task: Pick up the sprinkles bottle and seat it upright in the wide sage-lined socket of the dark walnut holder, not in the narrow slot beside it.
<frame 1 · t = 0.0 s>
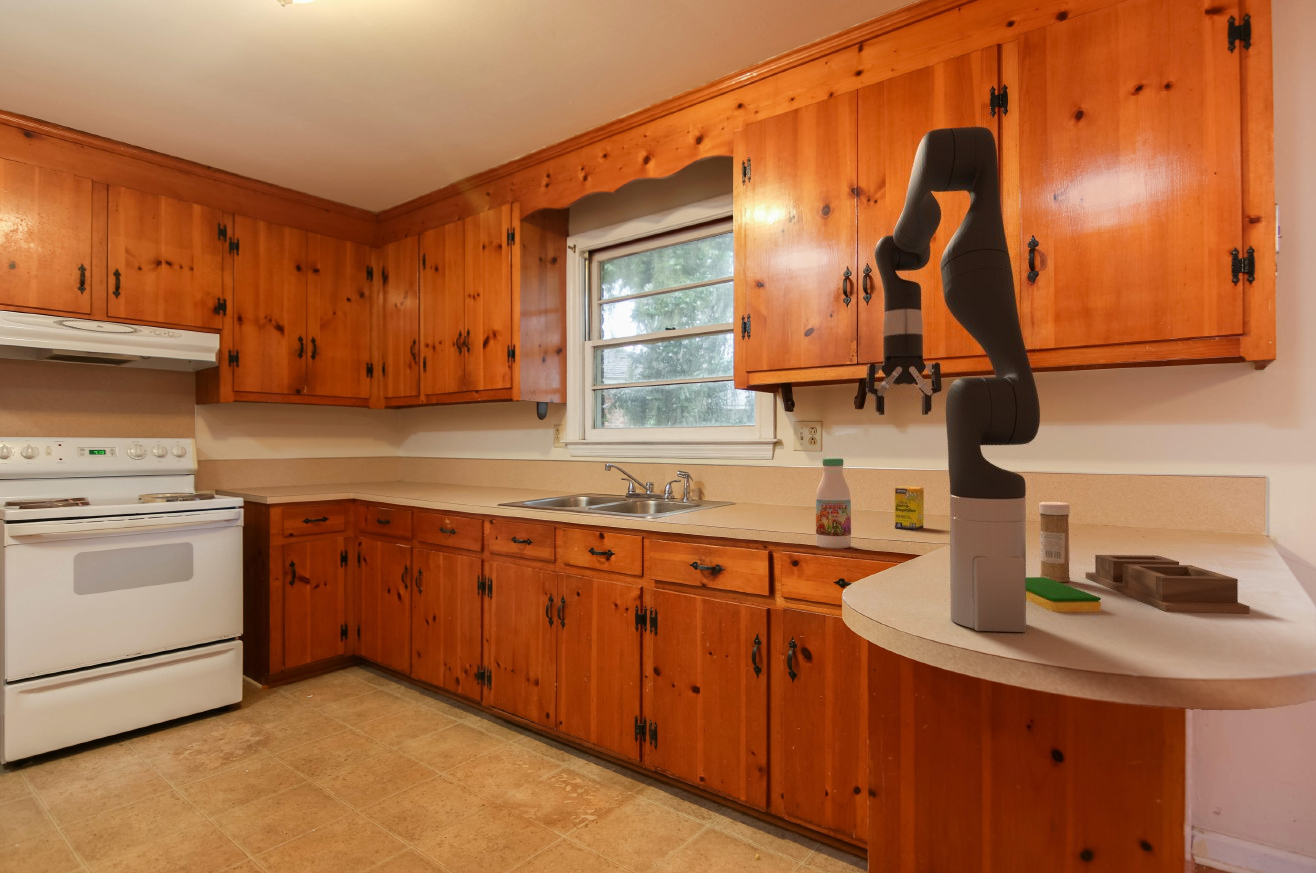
hand: (903, 414, 135), 29 cm above the table, fingers open, 8 cm apart
milk bottle: (833, 547, 152), on the table
socket holder: (1158, 593, 106), on the table
dish sponge: (1049, 603, 103), on the table
supplement box: (909, 528, 179), on the table
sprinkles bottle: (1054, 581, 116), on the table
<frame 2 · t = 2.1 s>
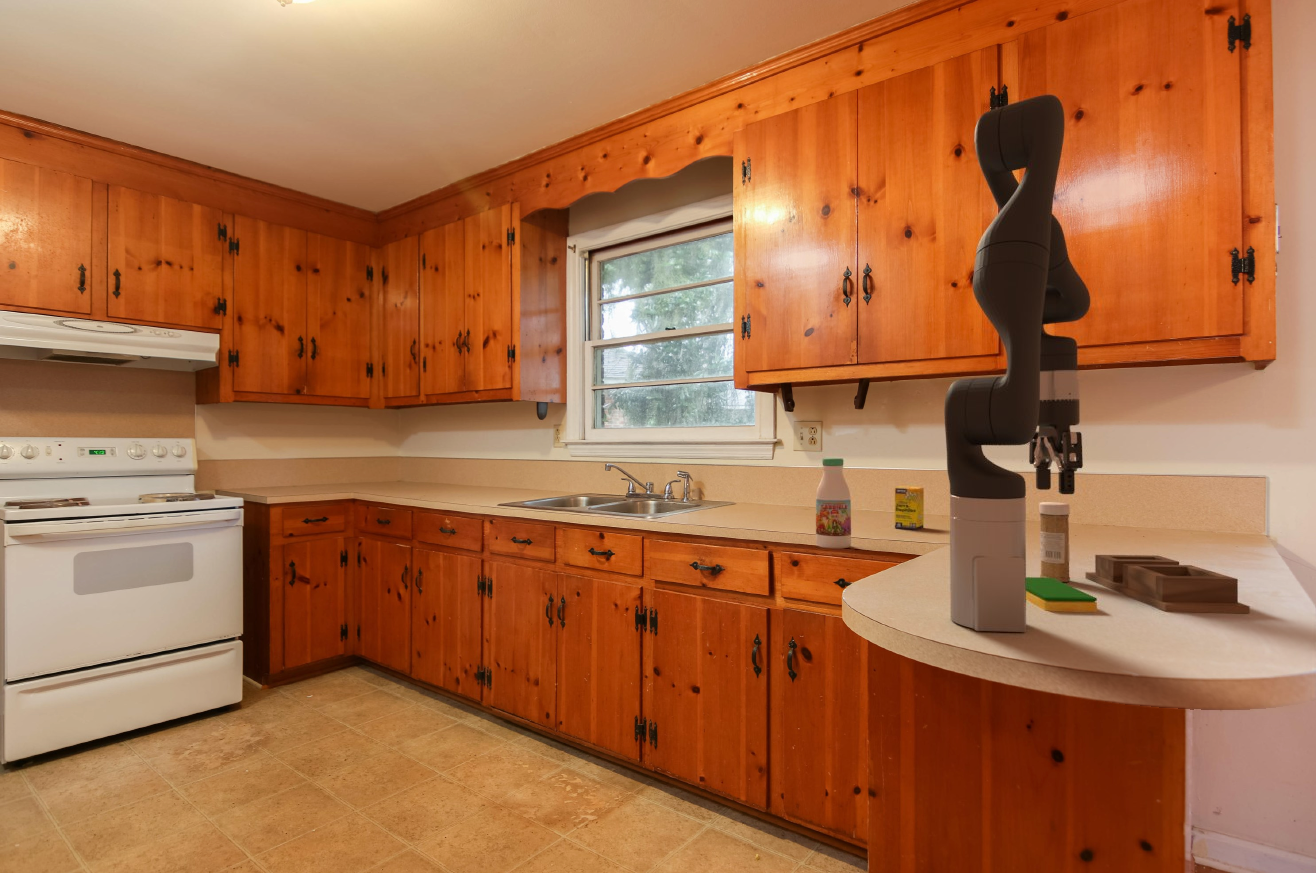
hand: (1054, 491, 116), 15 cm above the table, fingers open, 8 cm apart
nothing on the table moved.
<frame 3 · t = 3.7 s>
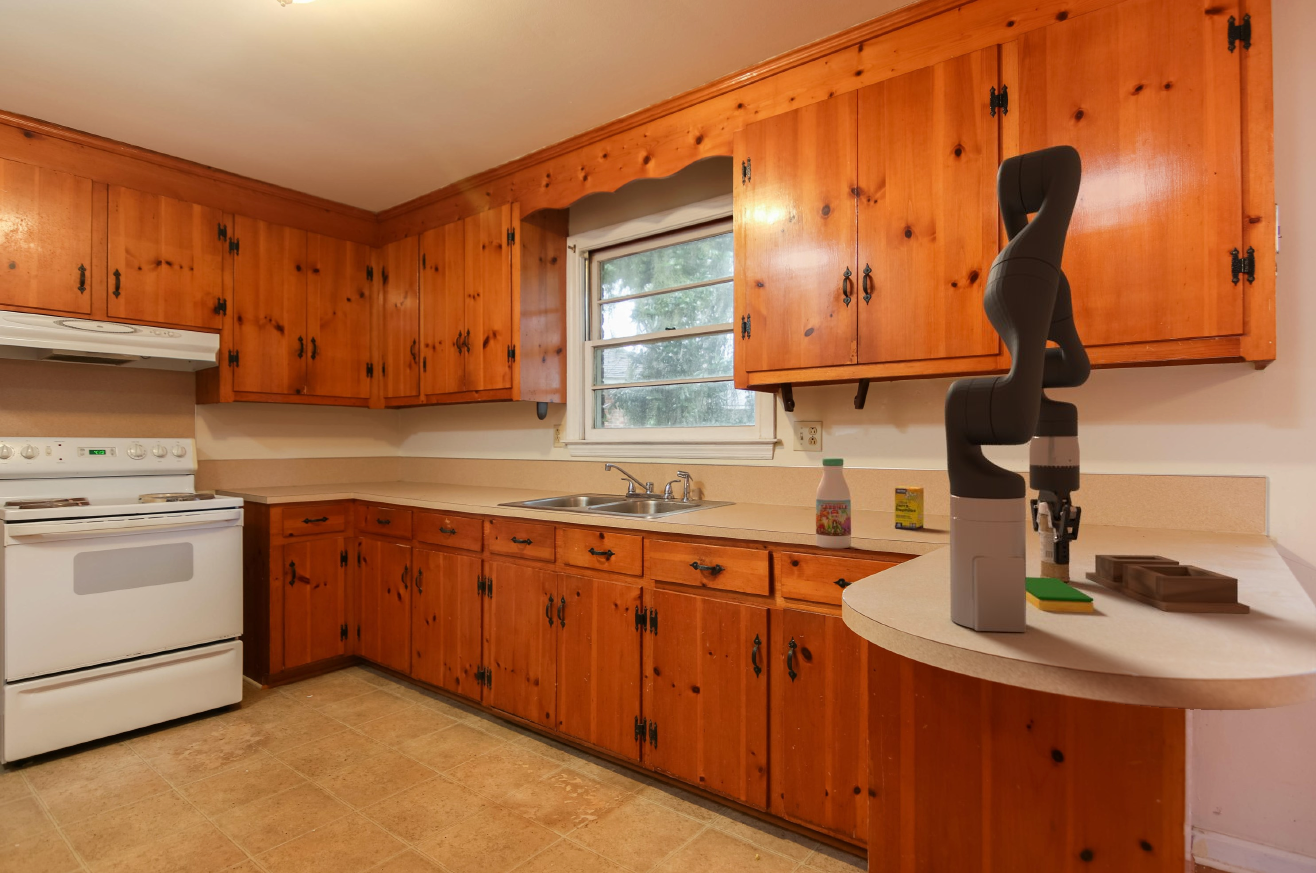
hand: (1054, 560, 116), 3 cm above the table, fingers closed on sprinkles bottle, 4 cm apart
sprinkles bottle: (1054, 581, 116), on the table, touching gripper
everything else where it was.
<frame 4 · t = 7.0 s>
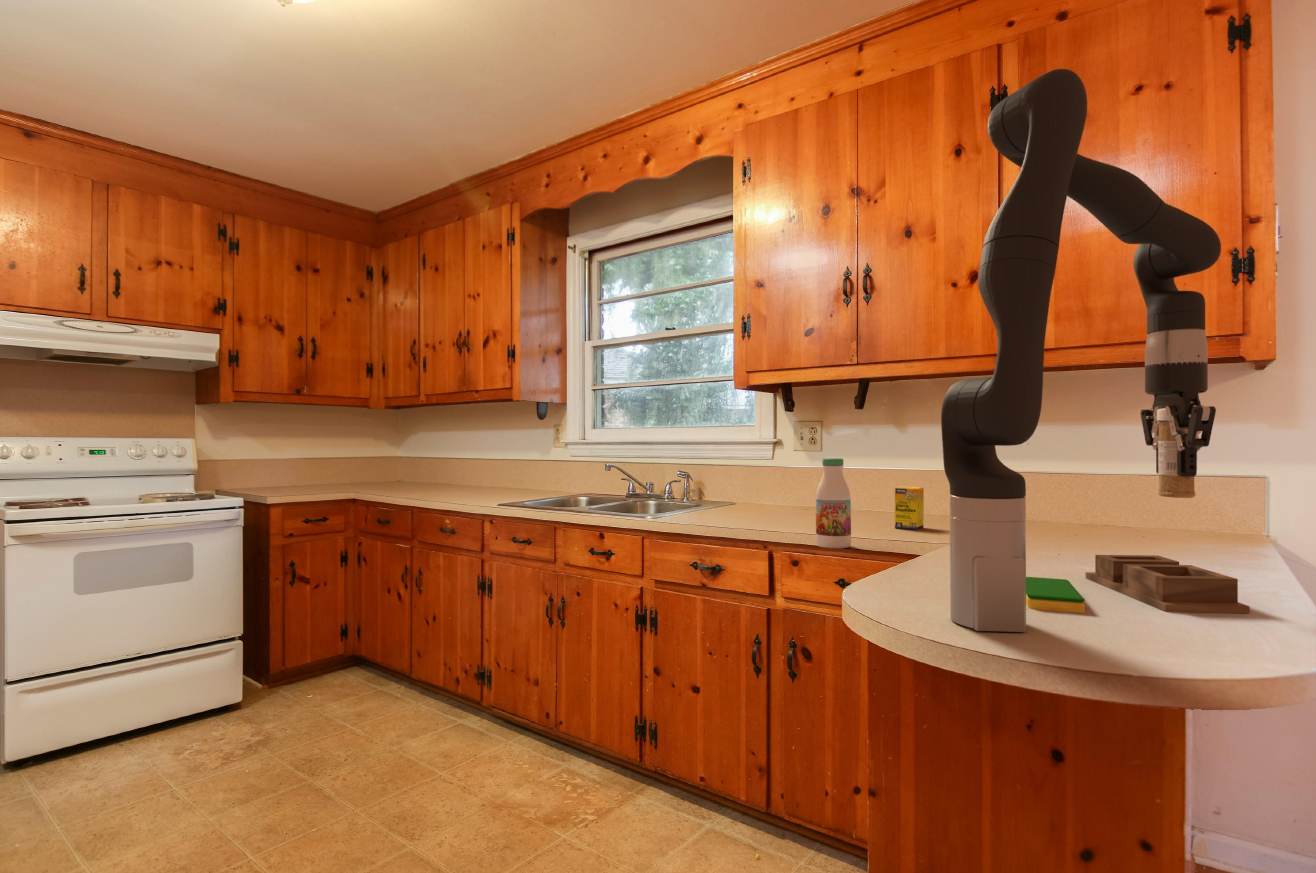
hand: (1175, 474, 102), 19 cm above the table, fingers closed on sprinkles bottle, 4 cm apart
sprinkles bottle: (1176, 498, 102), point 16 cm above the table, touching gripper
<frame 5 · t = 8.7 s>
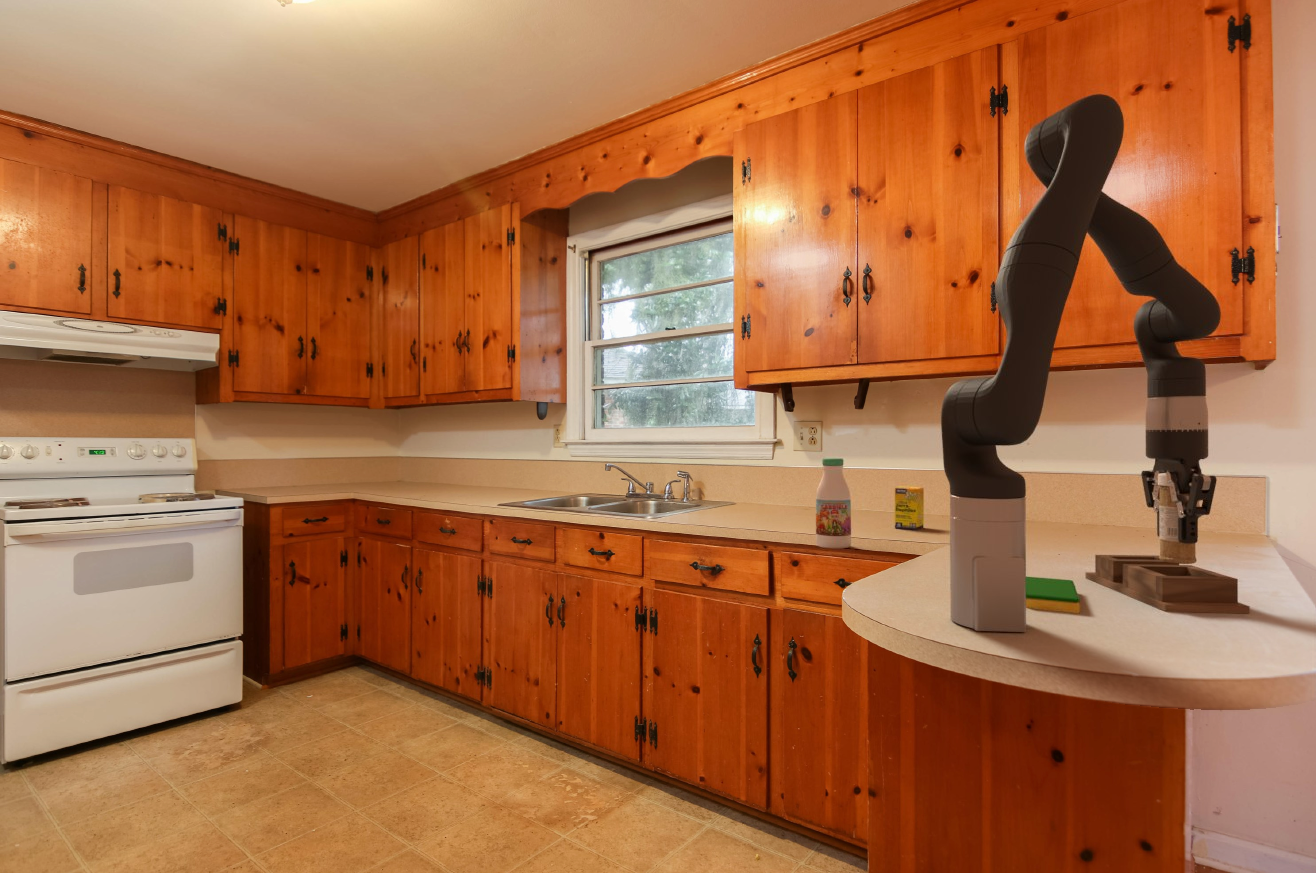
hand: (1176, 539, 102), 9 cm above the table, fingers closed on sprinkles bottle, 4 cm apart
sprinkles bottle: (1177, 562, 102), point 6 cm above the table, touching gripper
when the fingers open (6 cm above the table, at t = 10.2 s): sprinkles bottle drops 1 cm, resting on socket holder.
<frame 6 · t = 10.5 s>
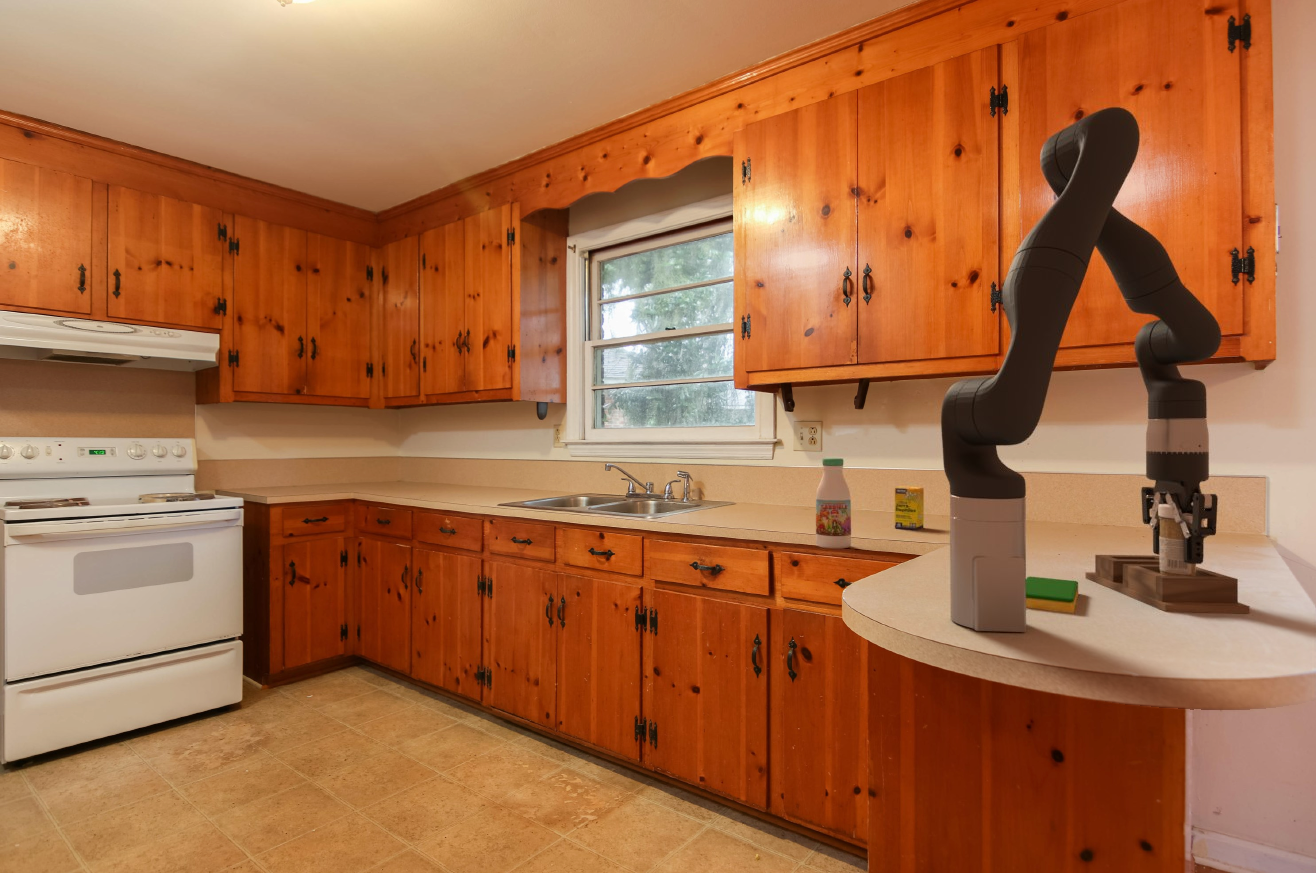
hand: (1177, 558, 102), 6 cm above the table, fingers open, 6 cm apart
sprinkles bottle: (1177, 594, 101), point 1 cm above the table, touching socket holder
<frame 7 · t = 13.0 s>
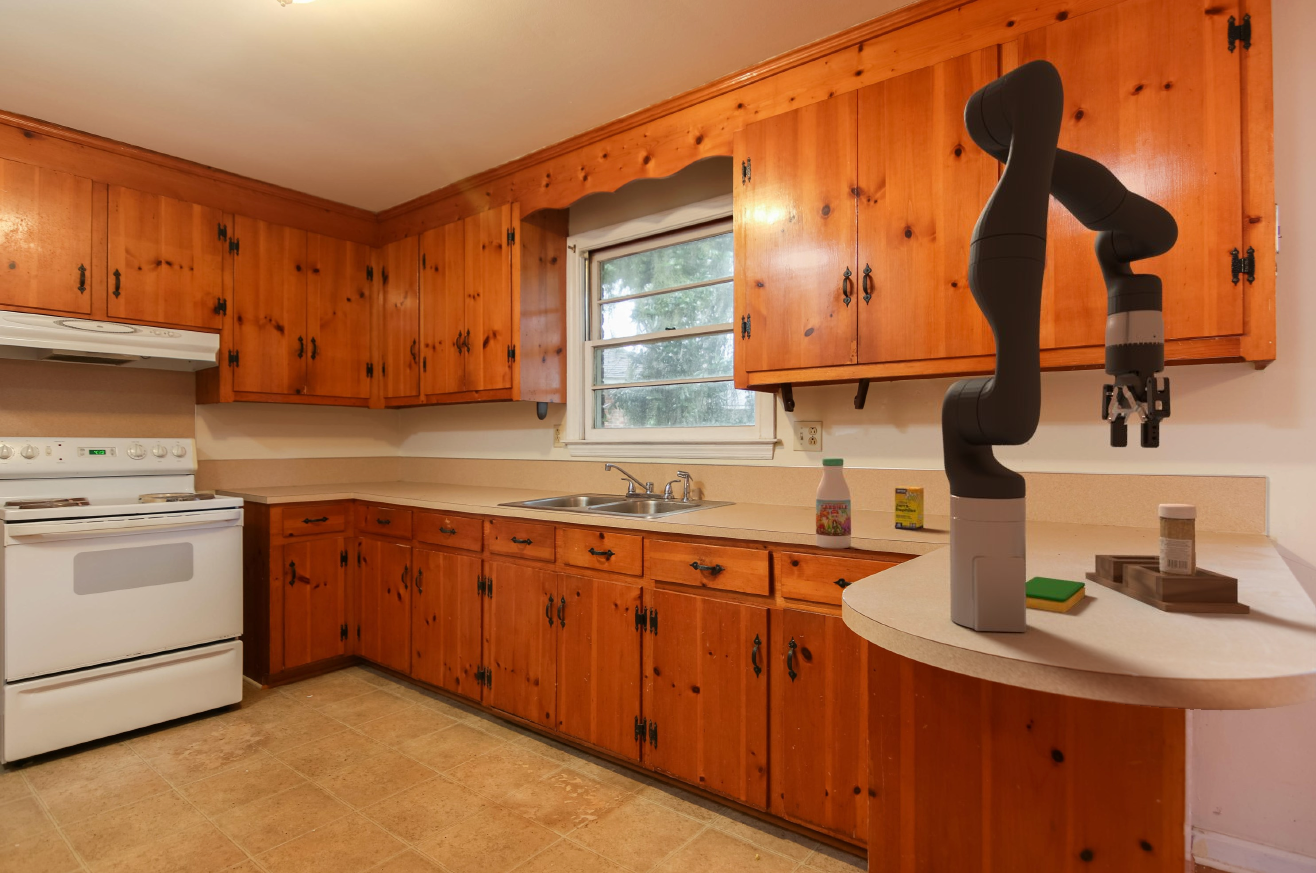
hand: (1133, 447, 105), 23 cm above the table, fingers open, 8 cm apart
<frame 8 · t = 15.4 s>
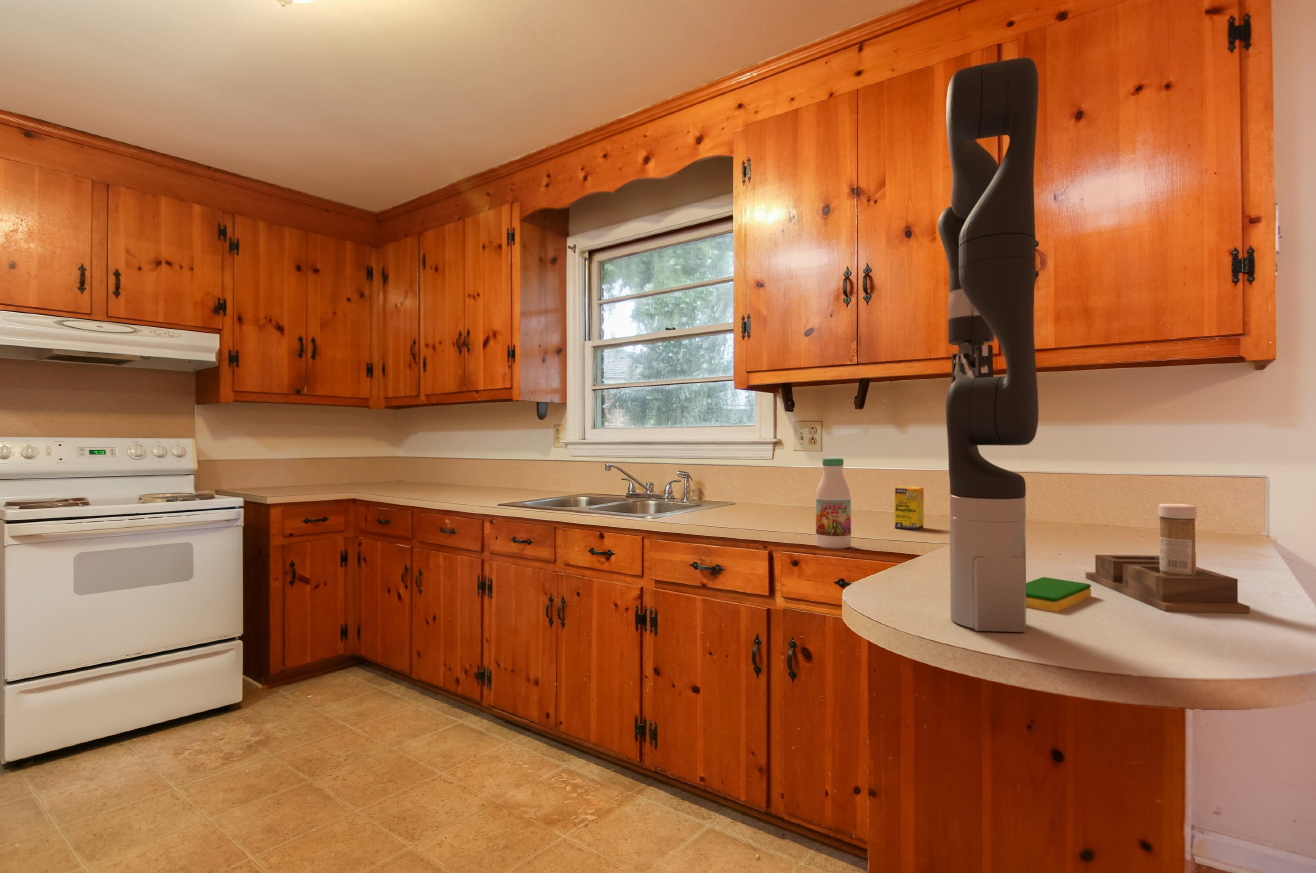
hand: (971, 407, 120), 30 cm above the table, fingers open, 8 cm apart
at the end: sprinkles bottle 0.1 cm from the target spot on the socket holder, point 1.0 cm above the socket holder's base; sprinkles bottle tilted 0°; the gripper is holding nothing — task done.
